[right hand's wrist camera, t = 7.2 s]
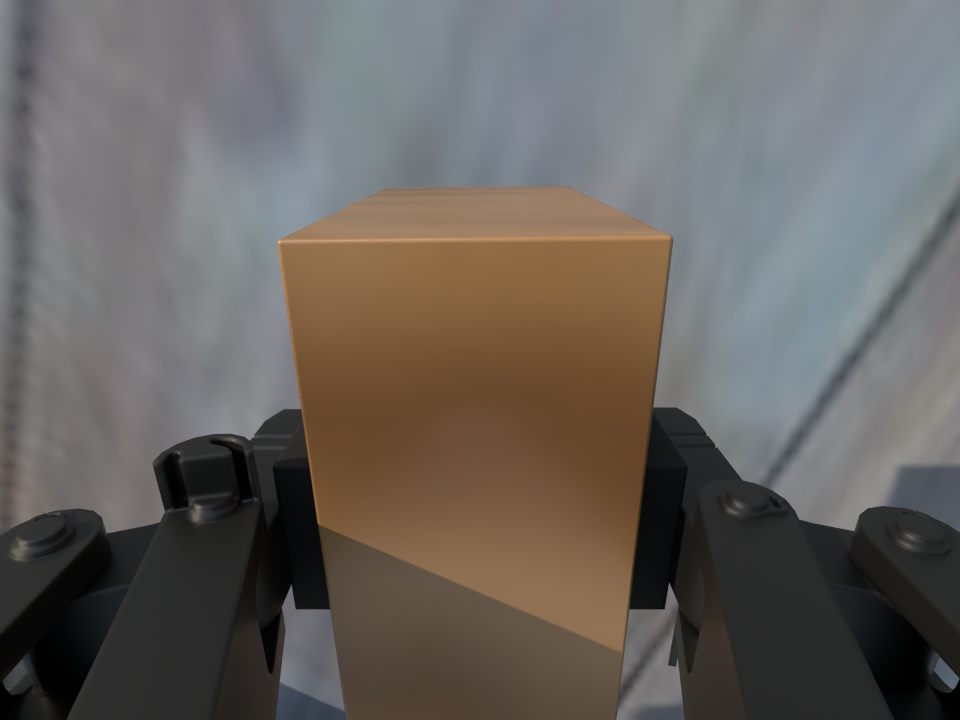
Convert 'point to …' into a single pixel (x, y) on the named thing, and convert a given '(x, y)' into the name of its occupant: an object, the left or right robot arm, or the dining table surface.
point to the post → (478, 443)
